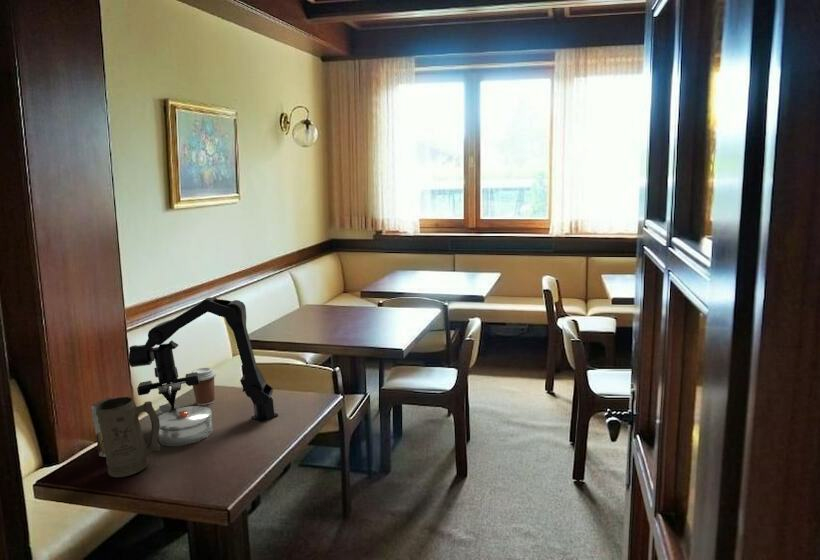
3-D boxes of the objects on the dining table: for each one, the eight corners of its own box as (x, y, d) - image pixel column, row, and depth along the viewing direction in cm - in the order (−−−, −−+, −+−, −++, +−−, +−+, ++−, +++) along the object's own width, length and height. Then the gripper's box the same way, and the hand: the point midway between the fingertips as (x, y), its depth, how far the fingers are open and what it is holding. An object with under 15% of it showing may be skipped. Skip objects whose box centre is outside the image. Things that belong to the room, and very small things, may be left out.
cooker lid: (221, 417, 200) (220, 410, 200) (170, 434, 189) (169, 427, 189) (187, 401, 217) (186, 394, 216) (138, 416, 205) (137, 409, 205)
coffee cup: (206, 408, 225) (202, 375, 223) (186, 405, 228) (182, 373, 226) (224, 399, 233) (220, 367, 231) (205, 396, 237) (201, 365, 235)
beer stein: (106, 482, 172) (95, 412, 169) (104, 467, 182) (94, 400, 178) (166, 467, 179) (157, 399, 176) (162, 454, 189) (153, 389, 185)
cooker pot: (222, 431, 202) (221, 416, 202) (177, 450, 190) (175, 434, 189) (183, 417, 217) (181, 403, 216) (138, 434, 204) (136, 419, 204)
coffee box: (137, 451, 192) (130, 399, 189) (120, 460, 186) (112, 407, 183) (115, 447, 196) (108, 396, 193) (97, 456, 190) (90, 404, 187)
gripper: (195, 351, 218) (203, 395, 220) (137, 362, 213) (146, 406, 216) (194, 359, 207) (202, 405, 210) (133, 370, 202) (142, 417, 205)
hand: (173, 408), depth 210 cm, fingers closed
